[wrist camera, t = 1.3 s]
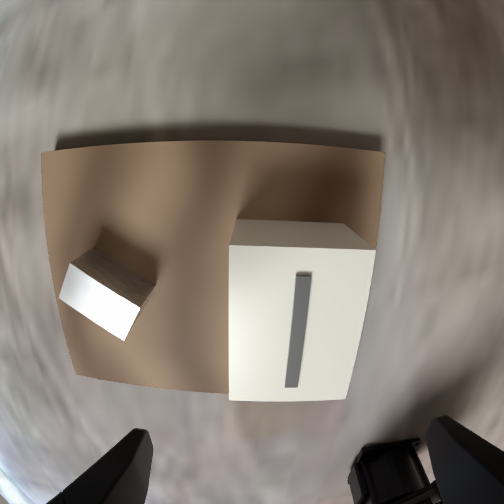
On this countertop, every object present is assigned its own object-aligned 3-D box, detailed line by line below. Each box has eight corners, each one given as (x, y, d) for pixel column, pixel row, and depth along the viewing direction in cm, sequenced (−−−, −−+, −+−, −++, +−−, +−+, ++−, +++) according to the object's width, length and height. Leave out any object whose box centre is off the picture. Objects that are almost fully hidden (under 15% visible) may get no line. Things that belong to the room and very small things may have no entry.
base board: (375, 152, 17) (384, 152, 16) (342, 379, 22) (346, 392, 21) (53, 151, 17) (41, 152, 16) (83, 363, 22) (75, 374, 20)
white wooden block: (94, 246, 18) (69, 262, 15) (155, 284, 18) (140, 308, 15) (82, 278, 18) (58, 297, 15) (140, 314, 19) (124, 340, 16)
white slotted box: (343, 223, 17) (377, 251, 12) (327, 346, 19) (346, 401, 14) (235, 219, 17) (228, 246, 12) (234, 345, 19) (228, 403, 14)
